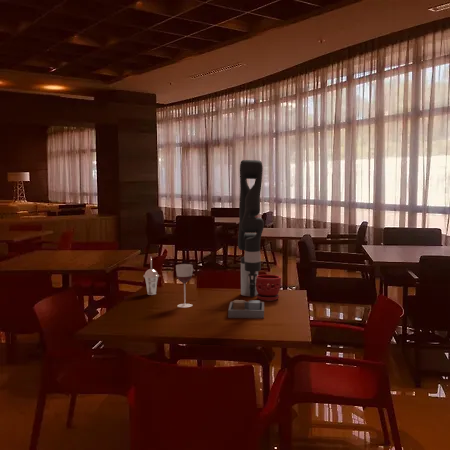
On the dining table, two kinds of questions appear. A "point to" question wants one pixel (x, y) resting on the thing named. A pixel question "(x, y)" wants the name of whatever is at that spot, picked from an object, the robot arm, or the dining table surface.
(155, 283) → the cup with straw
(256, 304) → the slate block
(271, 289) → the plant pot
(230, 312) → the tray
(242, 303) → the walnut block
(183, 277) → the wineglass
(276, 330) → the dining table surface
